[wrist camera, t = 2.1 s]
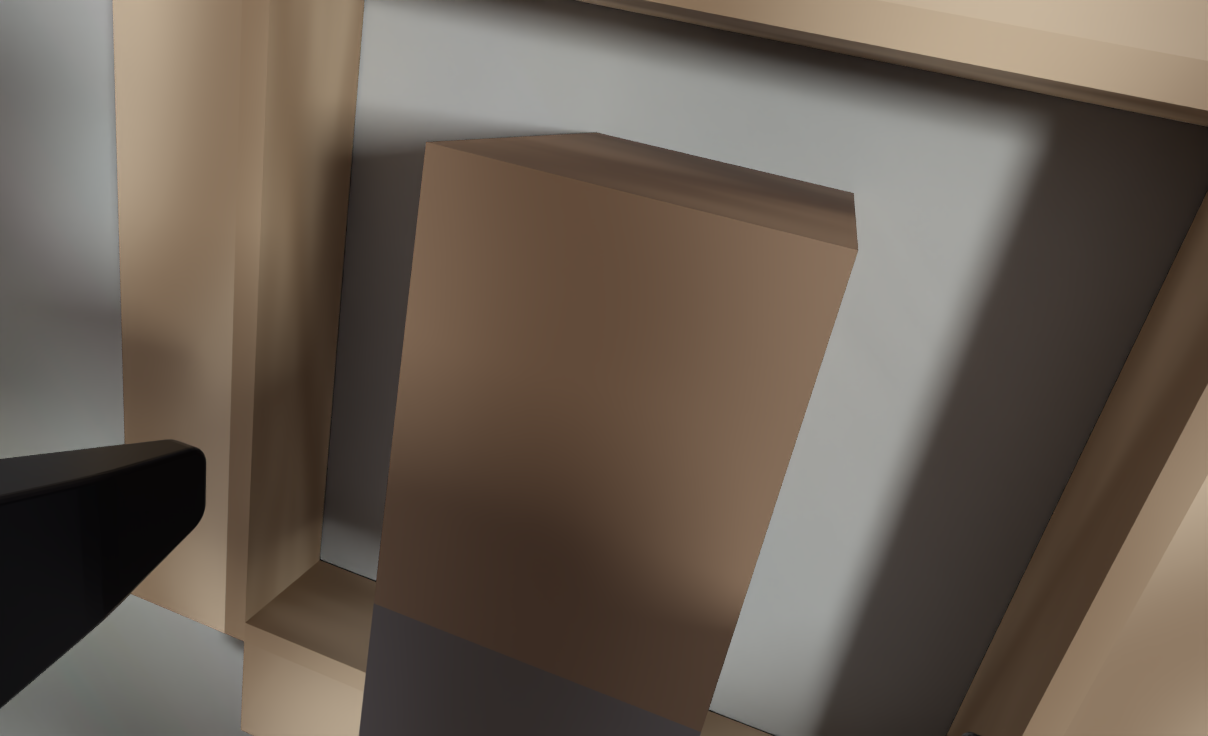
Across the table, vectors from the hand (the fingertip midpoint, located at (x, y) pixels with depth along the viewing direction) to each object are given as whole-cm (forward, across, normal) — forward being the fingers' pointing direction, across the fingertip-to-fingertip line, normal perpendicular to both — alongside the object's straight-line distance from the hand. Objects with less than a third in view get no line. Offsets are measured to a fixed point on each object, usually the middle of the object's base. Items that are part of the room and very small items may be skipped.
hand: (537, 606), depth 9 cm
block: (+7, 0, 0) cm, 7 cm away
